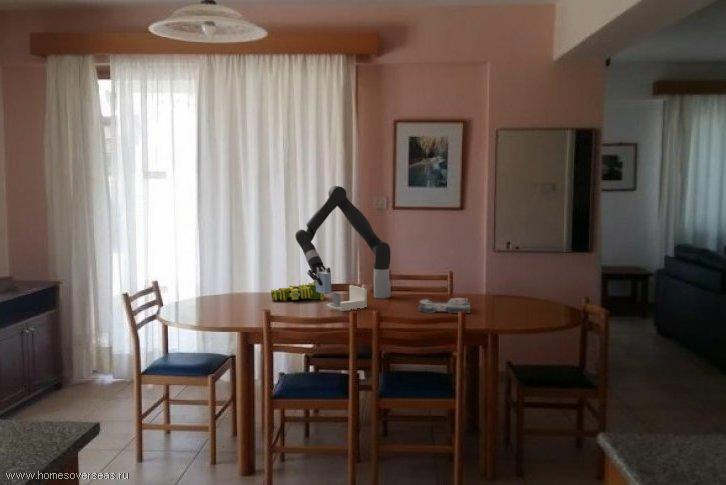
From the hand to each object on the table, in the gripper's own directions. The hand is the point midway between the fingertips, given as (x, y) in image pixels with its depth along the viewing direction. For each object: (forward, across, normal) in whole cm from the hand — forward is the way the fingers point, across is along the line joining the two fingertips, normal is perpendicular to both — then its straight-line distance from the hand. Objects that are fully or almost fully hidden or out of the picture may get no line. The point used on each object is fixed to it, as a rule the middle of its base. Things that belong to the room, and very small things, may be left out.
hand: (325, 284), depth 333 cm
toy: (-14, 0, +34) cm, 36 cm away
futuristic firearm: (+36, +52, -15) cm, 66 cm away
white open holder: (+11, +13, +9) cm, 19 cm away
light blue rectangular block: (+2, 0, +5) cm, 5 cm away
